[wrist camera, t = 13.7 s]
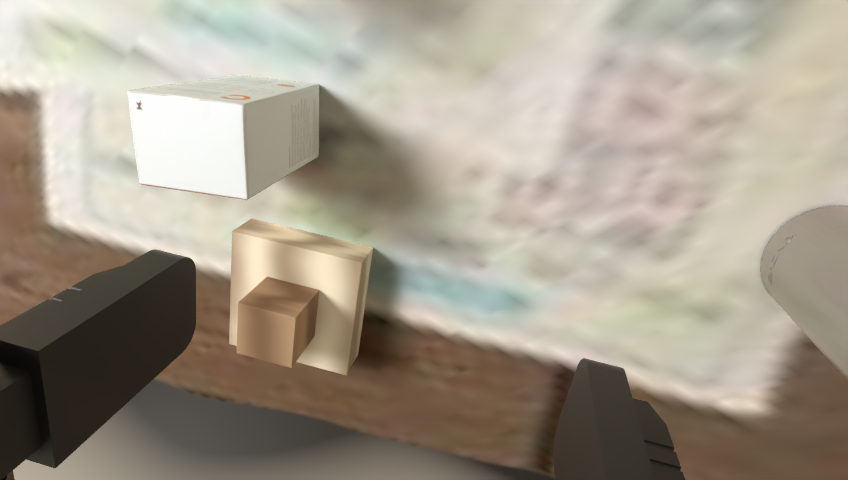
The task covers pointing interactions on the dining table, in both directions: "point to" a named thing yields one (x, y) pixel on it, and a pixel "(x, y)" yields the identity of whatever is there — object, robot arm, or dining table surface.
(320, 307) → the beige square plate
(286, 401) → the dining table surface
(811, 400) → the dining table surface
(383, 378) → the dining table surface
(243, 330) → the walnut cube
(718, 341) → the dining table surface
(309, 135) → the small box
